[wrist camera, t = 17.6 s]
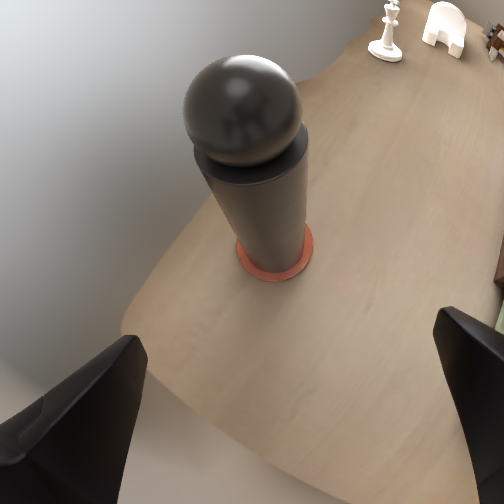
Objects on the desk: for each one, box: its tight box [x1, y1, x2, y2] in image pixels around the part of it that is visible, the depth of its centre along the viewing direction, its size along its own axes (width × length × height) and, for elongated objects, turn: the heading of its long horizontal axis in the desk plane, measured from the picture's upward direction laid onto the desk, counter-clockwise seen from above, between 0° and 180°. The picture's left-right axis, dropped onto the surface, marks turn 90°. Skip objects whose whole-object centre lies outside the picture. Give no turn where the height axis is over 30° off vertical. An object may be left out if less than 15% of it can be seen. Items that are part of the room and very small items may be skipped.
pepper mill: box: [183, 55, 308, 273], centre depth 15 cm, size 5×5×16 cm
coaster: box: [236, 223, 313, 282], centre depth 23 cm, size 6×6×1 cm
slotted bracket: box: [423, 2, 466, 58], centre depth 26 cm, size 13×7×8 cm, turn 148°
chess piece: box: [368, 0, 402, 62], centre depth 24 cm, size 5×5×10 cm
